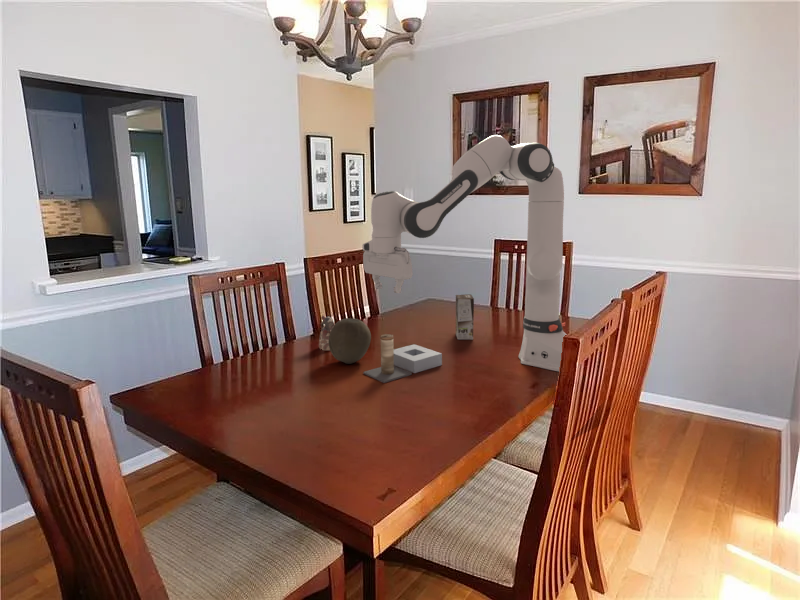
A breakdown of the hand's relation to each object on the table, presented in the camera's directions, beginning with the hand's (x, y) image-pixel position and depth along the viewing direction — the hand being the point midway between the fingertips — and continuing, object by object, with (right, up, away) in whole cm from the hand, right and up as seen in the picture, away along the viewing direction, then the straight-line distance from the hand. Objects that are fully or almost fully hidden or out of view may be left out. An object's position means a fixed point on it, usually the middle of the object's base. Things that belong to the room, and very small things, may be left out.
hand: (387, 290), depth 165 cm
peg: (0, -26, +5) cm, 26 cm away
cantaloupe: (-13, -24, +18) cm, 33 cm away
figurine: (-23, -21, +34) cm, 46 cm away
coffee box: (+29, -17, +46) cm, 57 cm away
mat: (0, -26, +5) cm, 27 cm away
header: (+9, -24, +15) cm, 30 cm away
